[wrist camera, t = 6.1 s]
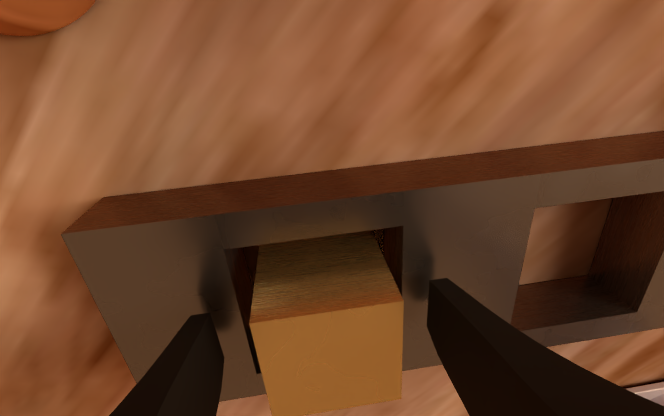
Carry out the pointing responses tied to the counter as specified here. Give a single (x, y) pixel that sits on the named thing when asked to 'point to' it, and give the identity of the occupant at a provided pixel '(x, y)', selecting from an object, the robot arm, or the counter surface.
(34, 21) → the beer glass
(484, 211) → the grey slotted board
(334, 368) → the golden brown block
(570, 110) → the counter surface
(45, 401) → the counter surface
